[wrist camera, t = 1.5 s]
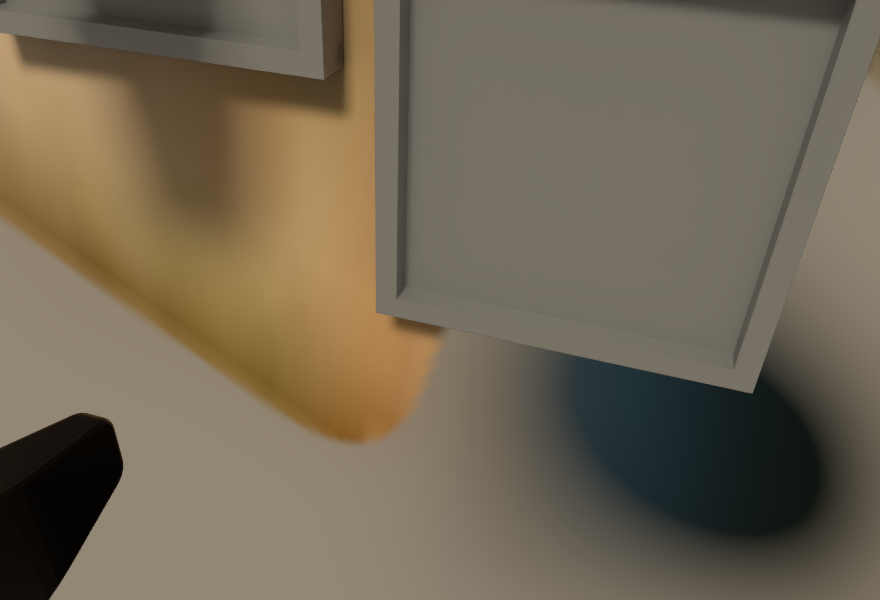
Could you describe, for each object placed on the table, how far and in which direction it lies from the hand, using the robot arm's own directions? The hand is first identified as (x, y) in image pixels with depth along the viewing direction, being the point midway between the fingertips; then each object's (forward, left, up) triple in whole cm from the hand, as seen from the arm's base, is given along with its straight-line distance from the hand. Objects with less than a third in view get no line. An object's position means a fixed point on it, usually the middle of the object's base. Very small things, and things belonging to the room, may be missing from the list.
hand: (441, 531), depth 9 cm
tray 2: (0, 0, -12) cm, 12 cm away
